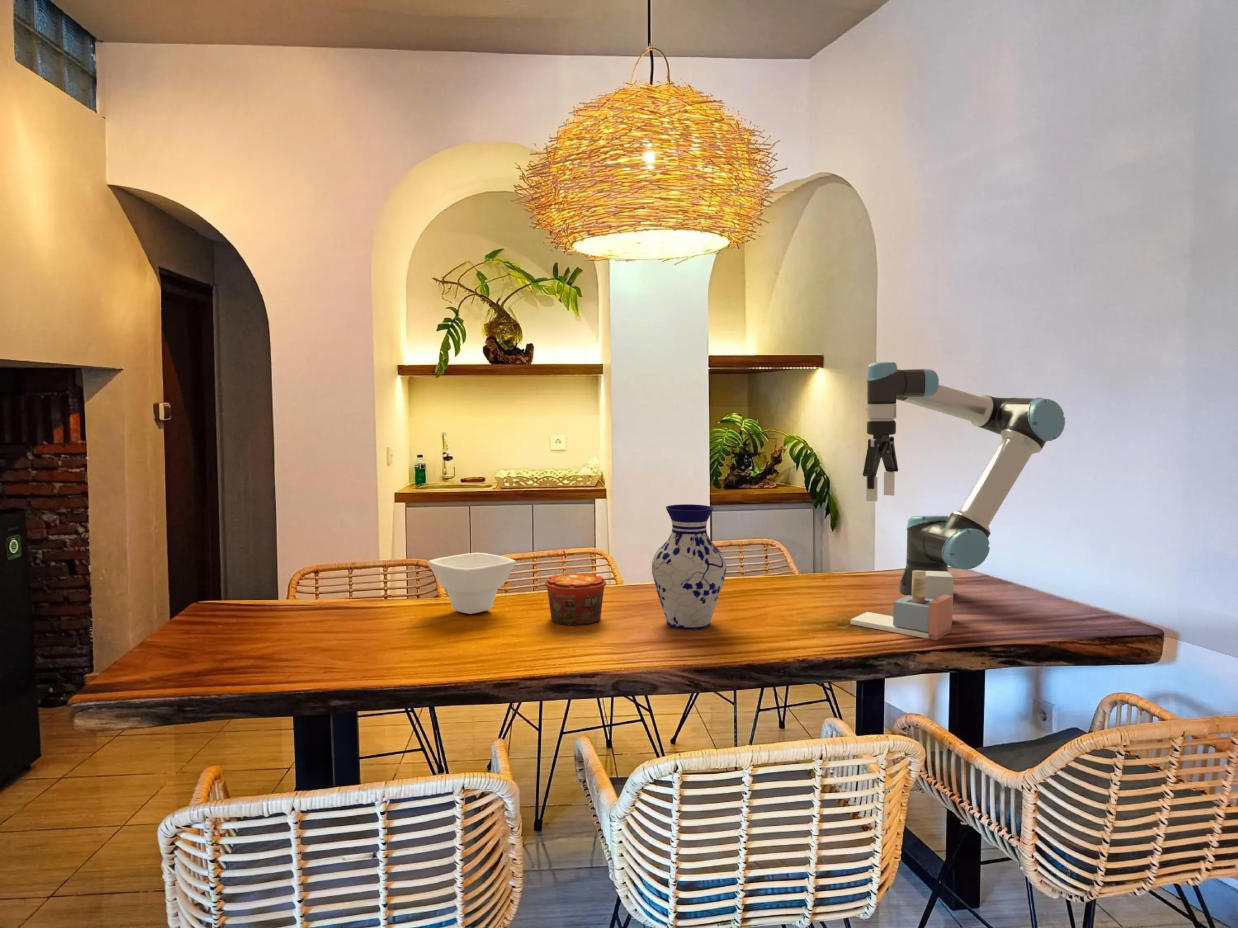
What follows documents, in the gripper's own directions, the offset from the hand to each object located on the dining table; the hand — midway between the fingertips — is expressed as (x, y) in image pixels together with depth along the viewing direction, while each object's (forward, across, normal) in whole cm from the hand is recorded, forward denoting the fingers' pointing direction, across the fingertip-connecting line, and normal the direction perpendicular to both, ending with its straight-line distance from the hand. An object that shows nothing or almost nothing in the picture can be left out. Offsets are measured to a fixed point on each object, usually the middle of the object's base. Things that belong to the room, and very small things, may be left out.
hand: (880, 498), depth 233 cm
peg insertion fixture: (+30, +16, +11) cm, 36 cm away
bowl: (+28, +70, -86) cm, 115 cm away
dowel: (+27, +16, +15) cm, 35 cm away
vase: (+29, +45, -34) cm, 64 cm away
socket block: (+29, +16, +15) cm, 37 cm away
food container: (+29, +59, -60) cm, 89 cm away
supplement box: (+31, +4, +16) cm, 35 cm away
